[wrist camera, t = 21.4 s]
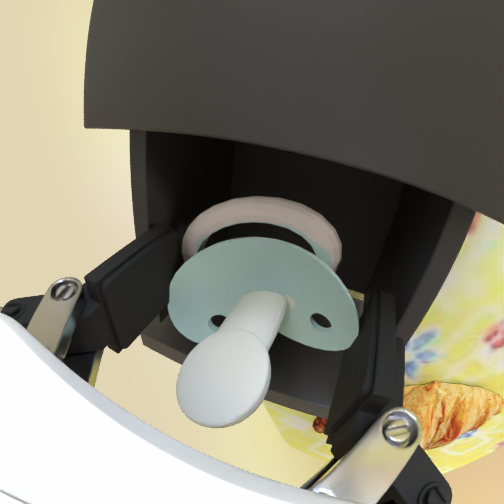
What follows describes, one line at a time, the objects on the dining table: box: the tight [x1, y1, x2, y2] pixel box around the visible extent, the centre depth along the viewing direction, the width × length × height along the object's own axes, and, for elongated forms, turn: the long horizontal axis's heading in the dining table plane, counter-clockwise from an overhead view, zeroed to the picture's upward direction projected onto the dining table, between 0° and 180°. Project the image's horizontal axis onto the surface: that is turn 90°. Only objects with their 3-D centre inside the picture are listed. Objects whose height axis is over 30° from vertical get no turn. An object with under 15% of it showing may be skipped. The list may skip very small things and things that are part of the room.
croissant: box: [312, 381, 504, 451], centre depth 20 cm, size 21×10×8 cm, turn 111°
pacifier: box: [168, 196, 359, 428], centre depth 9 cm, size 7×6×6 cm
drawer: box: [130, 130, 476, 419], centre depth 14 cm, size 19×12×9 cm, turn 173°
